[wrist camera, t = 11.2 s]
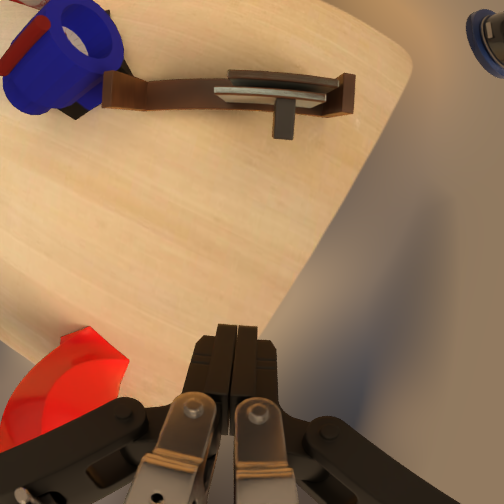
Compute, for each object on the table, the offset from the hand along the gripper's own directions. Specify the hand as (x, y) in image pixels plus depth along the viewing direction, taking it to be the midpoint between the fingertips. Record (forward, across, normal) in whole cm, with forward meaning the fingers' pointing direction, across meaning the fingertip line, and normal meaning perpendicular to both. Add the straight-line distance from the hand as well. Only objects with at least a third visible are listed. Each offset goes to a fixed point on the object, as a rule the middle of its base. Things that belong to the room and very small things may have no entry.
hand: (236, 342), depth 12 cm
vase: (+25, +26, +28) cm, 46 cm away
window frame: (+25, +3, -11) cm, 27 cm away
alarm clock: (+25, +22, -17) cm, 38 cm away
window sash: (+23, -1, -9) cm, 25 cm away
